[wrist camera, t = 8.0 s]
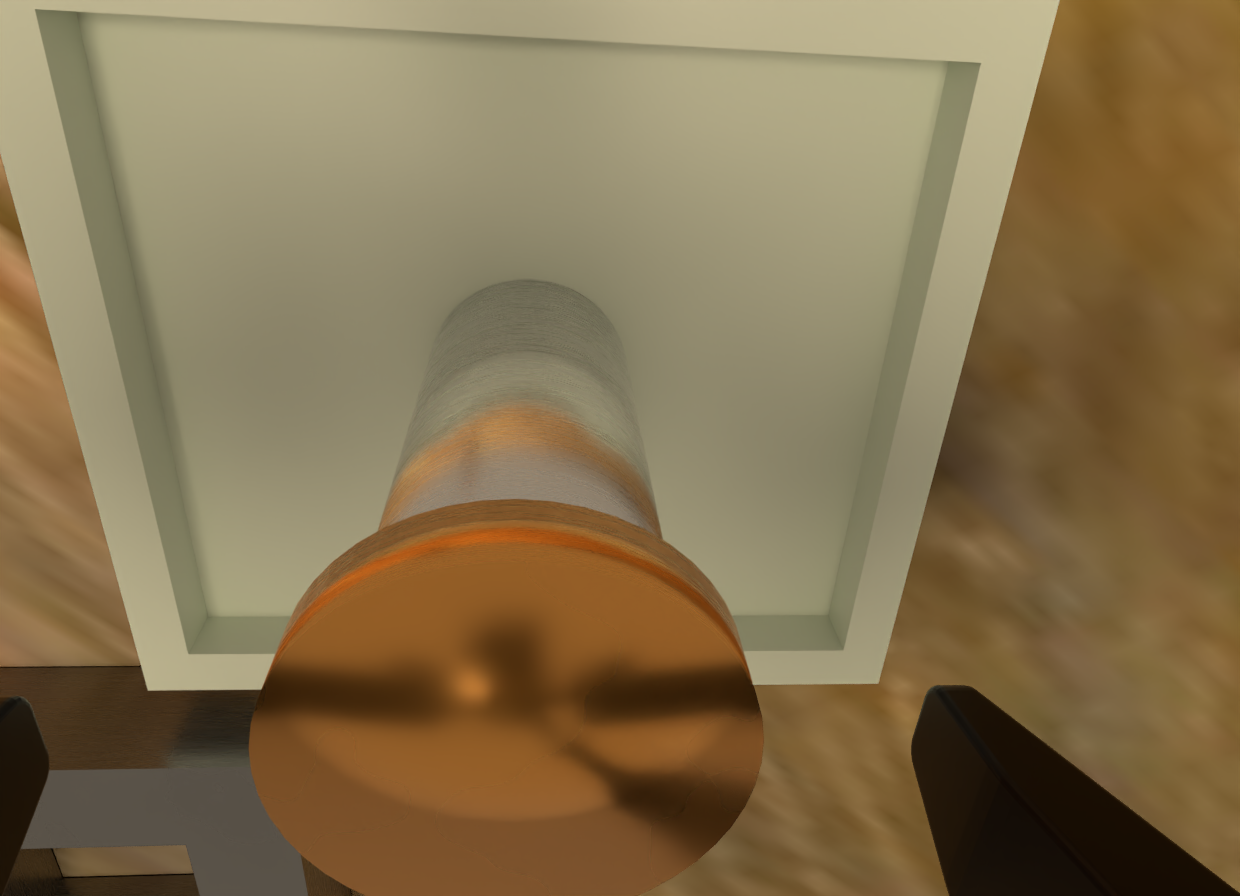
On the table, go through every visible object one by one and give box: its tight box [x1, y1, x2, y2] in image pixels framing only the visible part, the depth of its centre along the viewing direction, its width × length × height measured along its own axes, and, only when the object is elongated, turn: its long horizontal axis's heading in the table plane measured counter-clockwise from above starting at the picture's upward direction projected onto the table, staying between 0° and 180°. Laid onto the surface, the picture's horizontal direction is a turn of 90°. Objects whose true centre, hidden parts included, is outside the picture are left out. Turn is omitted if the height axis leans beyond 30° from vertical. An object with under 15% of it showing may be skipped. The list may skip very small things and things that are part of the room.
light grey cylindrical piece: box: [249, 279, 764, 896], centre depth 13 cm, size 5×5×10 cm
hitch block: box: [0, 667, 351, 896], centre depth 21 cm, size 10×10×3 cm
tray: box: [0, 0, 1060, 691], centre depth 17 cm, size 16×14×2 cm
